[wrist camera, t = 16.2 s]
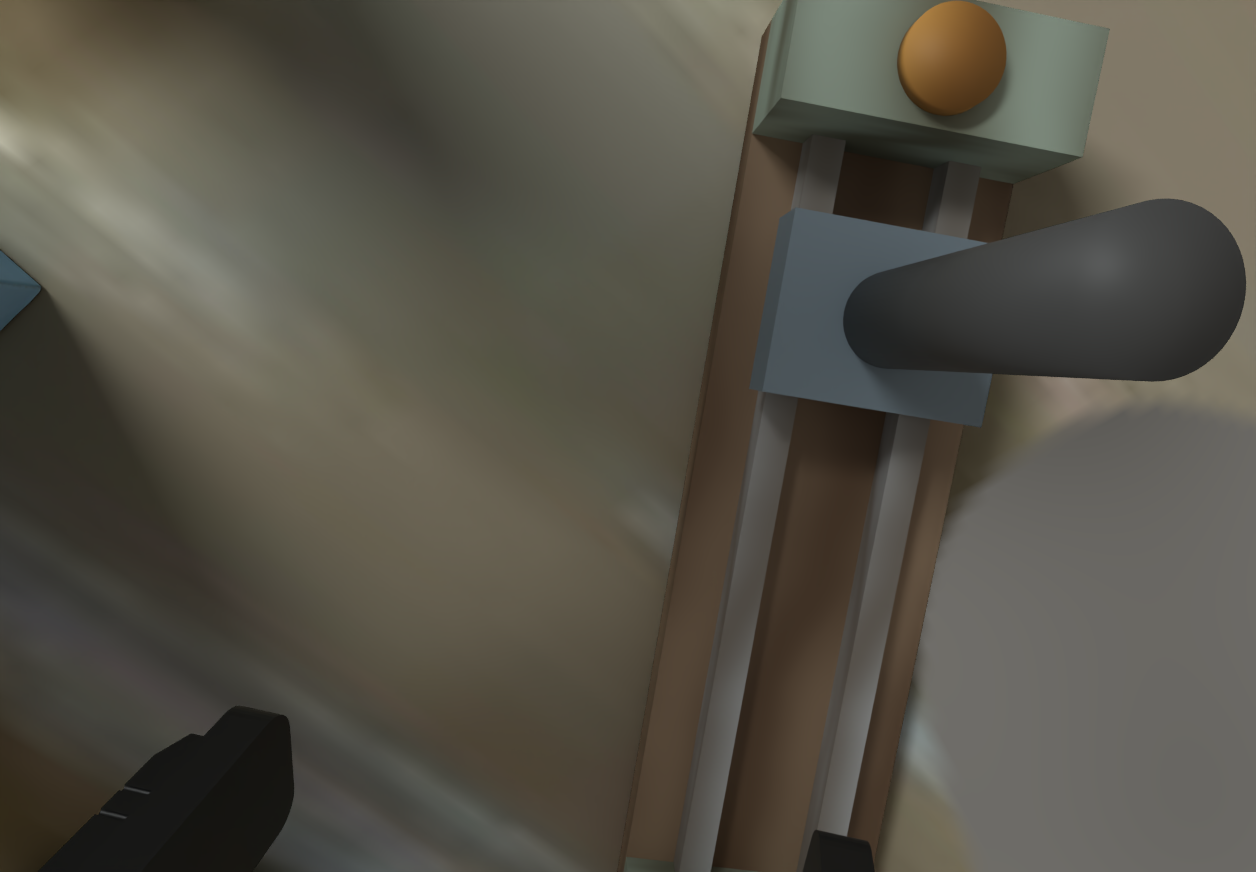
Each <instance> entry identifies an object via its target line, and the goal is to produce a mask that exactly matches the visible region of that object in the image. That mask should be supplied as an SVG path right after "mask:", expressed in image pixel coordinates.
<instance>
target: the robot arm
mask: <svg viewBox="0 0 1256 872" xmlns="http://www.w3.org/2000/svg"><path fill="white" fill-rule="evenodd" d="M293 797H294V779H293V765H292V751H291V737H290V725H289V721H288V719H287V717H286V716H284V715H280V714H275V713H271V712H266V711H262V710H257V709H253V708H248V707H243V706H235V707H233V708H231V709H230V710H228V711H227V712H226V713H225V714H224V715H223V716H222V717H221V718H220V719H219V721H218V722H217V723H216V724H215V725H214V726H213V727H212V728H211V729H210V730H209V731H208V732H207V733H206V734H205V735H204V736H200V735H196V734H189V735H188V736H186V737H184V738H183V739H181V740H179V741H178V742H176V743H174V744H172V745H171V746H169V747H167V748H166V749H164V750H162V751H161V752H159V753H157V754H156V755H154V756H153V757H152V758H151V759H150V760H149V761H148V762H147V763H146V764H145V765H144V766H143V767H142V768H141V769H140V770H139V771H138V772H137V773H136V774H135V775H134V776H133V777H132V778H131V779H130V780H129V781H128V782H127V783H126V784H125V787H124V789H123V790H122V791H121V790H119V791H118V792H117V793H116V794H115V795H114V796H113V797H112V798H111V799H110V800H109V801H108V802H107V803H106V804H105V805H104V806H103V807H102V808H101V811H100V813H99V814H98V815H96V814H95V815H94V816H93V817H92V818H91V819H90V820H89V821H88V822H87V823H86V824H85V825H84V826H83V827H82V828H81V829H80V830H79V831H78V832H77V833H76V834H75V835H74V836H73V837H72V838H71V839H70V840H69V841H68V842H67V843H66V844H65V845H64V846H63V847H62V848H61V849H60V850H59V851H58V852H57V853H56V854H55V855H54V856H53V857H52V858H51V859H50V860H49V861H48V862H47V863H46V864H45V865H44V866H43V867H42V868H41V869H40V870H39V871H38V872H252V871H253V870H254V868H255V867H256V866H257V864H258V863H259V861H260V860H261V859H262V857H263V856H264V854H265V853H266V852H267V850H268V849H269V847H270V846H271V844H272V843H273V842H274V840H275V839H276V837H277V836H278V834H279V833H280V831H281V830H282V828H283V826H284V824H285V822H286V820H287V817H288V815H289V812H290V809H291V806H292V802H293ZM803 872H875V871H874V864H873V856H872V850H871V846H870V844H869V842H868V841H866V840H861V839H857V838H852V837H848V836H843V835H838V834H834V833H829V832H825V831H820V830H815V831H814V832H813V835H812V838H811V841H810V845H809V849H808V853H807V856H806V860H805V864H804V868H803Z"/></svg>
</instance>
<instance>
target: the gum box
mask: <svg viewBox="0 0 1256 872" xmlns="http://www.w3.org/2000/svg"><path fill="white" fill-rule="evenodd" d="M40 290H41V286H40V285H39V284H38V283H37V282H36V281H34V280H33V279H32V278H31V277H30V276H29V275H28V274H27V273H25V272H24V271H23V270H22V269H21V268H20V267H19V266H17V265H16V264H15V263H14V262H13V261H12V260H11V259H9V258H8V257H7V256H6V255H5V254H4V253H3V252H2V251H0V331H1V330H2V329H3V328H4V327H5V326H6V325H7V324H8V323H9V322H10V321H11V320H12V319H13V318H14V317H15V316H16V315H17V314H18V313H19V312H20V311H21V310H22V309H23V308H24V307H25V306H26V305H28V304H29V303H30V302H31V301H32V299H33V298H34V297H35V296H36V295H37V294H38V293H39V292H40Z"/></svg>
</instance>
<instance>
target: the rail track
mask: <svg viewBox="0 0 1256 872" xmlns="http://www.w3.org/2000/svg"><path fill="white" fill-rule="evenodd" d="M1109 30H1110V29H1109V28H1104V27H1099V26H1094V25H1090V24H1085V23H1080V22H1075V21H1071V20H1066V19H1061V18H1057V17H1052V16H1047V15H1042V14H1038V13H1033V12H1028V11H1024V10H1019V9H1014V8H1009V7H1005V6H1000V5H995V4H991V3H986V2H981V1H976V0H783V1H782V3H781V5H780V6H779V8H778V10H777V12H776V13H775V15H774V17H773V18H772V20H771V22H770V23H769V25H768V27H767V29H766V30H765V32H764V34H763V35H762V39H761V45H760V51H759V56H758V62H757V68H756V74H755V79H754V85H753V91H752V97H751V103H750V108H749V114H748V120H747V126H746V131H745V137H744V143H743V149H742V155H741V160H740V166H739V172H738V178H737V183H736V189H735V195H734V201H733V206H732V212H731V218H730V224H729V230H728V235H727V241H726V247H725V253H724V258H723V264H722V270H721V276H720V281H719V287H718V293H717V299H716V305H715V310H714V316H713V322H712V328H711V333H710V339H709V345H708V351H707V356H706V362H705V368H704V374H703V380H702V385H701V391H700V397H699V403H698V408H697V414H696V420H695V426H694V432H693V437H692V443H691V449H690V455H689V460H688V466H687V472H686V478H685V483H684V489H683V495H682V501H681V507H680V512H679V518H678V524H677V530H676V535H675V541H674V547H673V553H672V558H671V564H670V570H669V576H668V582H667V587H666V593H665V599H664V605H663V610H662V616H661V622H660V628H659V634H658V639H657V645H656V651H655V657H654V662H653V668H652V674H651V680H650V685H649V691H648V697H647V703H646V709H645V714H644V720H643V726H642V732H641V737H640V743H639V749H638V755H637V760H636V766H635V772H634V778H633V784H632V789H631V795H630V801H629V807H628V812H627V818H626V824H625V830H624V835H623V841H622V847H621V853H620V859H619V864H618V870H617V872H803V868H804V864H805V860H806V856H807V853H808V849H809V845H810V841H811V838H812V835H813V832H814V831H815V830H820V831H825V832H829V833H834V834H838V835H843V836H848V837H852V838H857V839H861V840H866V841H868V842H869V844H870V846H871V850H872V856H873V864H874V860H875V855H876V850H877V845H878V840H879V835H880V831H881V826H882V821H883V816H884V811H885V806H886V801H887V797H888V792H889V787H890V782H891V777H892V772H893V767H894V762H895V758H896V753H897V748H898V743H899V738H900V733H901V728H902V724H903V719H904V714H905V709H906V704H907V699H908V694H909V689H910V685H911V680H912V675H913V670H914V665H915V660H916V655H917V651H918V646H919V641H920V636H921V631H922V626H923V621H924V616H925V612H926V607H927V602H928V597H929V592H930V587H931V582H932V578H933V573H934V568H935V563H936V558H937V553H938V548H939V543H940V539H941V534H942V529H943V524H944V519H945V514H946V509H947V505H948V500H949V495H950V490H951V485H952V480H953V475H954V470H955V466H956V461H957V456H958V451H959V446H960V441H961V436H962V432H963V427H964V425H963V424H957V423H951V422H944V421H938V420H932V419H926V418H920V417H914V416H908V415H902V414H896V413H890V412H884V411H878V410H872V409H866V408H860V407H853V406H847V405H841V404H835V403H829V402H823V401H817V400H811V399H805V398H799V397H793V396H787V395H781V394H775V393H769V392H762V391H757V390H753V389H749V386H750V381H751V375H752V370H753V364H754V358H755V353H756V347H757V342H758V336H759V330H760V325H761V319H762V314H763V308H764V302H765V297H766V291H767V286H768V280H769V275H770V269H771V263H772V258H773V252H774V247H775V241H776V235H777V230H778V224H779V219H780V217H782V216H783V215H785V214H786V213H788V212H789V211H791V210H792V209H794V208H795V207H797V208H802V209H807V210H813V211H818V212H824V213H829V214H834V215H840V216H845V217H850V218H856V219H861V220H867V221H872V222H877V223H883V224H888V225H894V226H899V227H904V228H910V229H915V230H921V231H926V232H931V233H937V234H942V235H948V236H953V237H958V238H964V239H969V240H975V241H980V242H985V243H991V242H995V241H999V240H1002V237H1003V232H1004V227H1005V222H1006V217H1007V213H1008V208H1009V203H1010V198H1011V193H1012V188H1013V184H1014V183H1017V182H1020V181H1022V180H1025V179H1027V178H1030V177H1032V176H1035V175H1038V174H1040V173H1043V172H1045V171H1048V170H1050V169H1053V168H1056V167H1058V166H1061V165H1063V164H1066V163H1069V162H1071V161H1074V160H1076V159H1079V158H1081V157H1083V152H1084V147H1085V143H1086V138H1087V133H1088V129H1089V124H1090V119H1091V115H1092V110H1093V105H1094V100H1095V96H1096V91H1097V86H1098V82H1099V77H1100V72H1101V68H1102V63H1103V58H1104V53H1105V49H1106V44H1107V39H1108V35H1109Z"/></svg>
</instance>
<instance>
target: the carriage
mask: <svg viewBox="0 0 1256 872" xmlns="http://www.w3.org/2000/svg"><path fill="white" fill-rule="evenodd" d="M1245 293H1246V275H1245V268H1244V263H1243V258H1242V255H1241V252H1240V250H1239V247H1238V245H1237V243H1236V241H1235V239H1234V237H1233V236H1232V234H1231V233H1230V231H1229V230H1228V229H1227V227H1226V226H1225V225H1224V224H1223V223H1222V222H1221V221H1220V220H1219V219H1218V218H1217V217H1215V216H1214V215H1213V214H1212V213H1210V212H1209V211H1207V210H1205V209H1204V208H1202V207H1200V206H1198V205H1195V204H1193V203H1190V202H1186V201H1183V200H1176V199H1155V200H1149V201H1144V202H1141V203H1137V204H1133V205H1129V206H1126V207H1122V208H1118V209H1114V210H1111V211H1107V212H1103V213H1099V214H1096V215H1092V216H1088V217H1085V218H1081V219H1077V220H1073V221H1070V222H1066V223H1062V224H1058V225H1055V226H1051V227H1047V228H1043V229H1040V230H1036V231H1032V232H1028V233H1025V234H1021V235H1017V236H1013V237H1010V238H1006V239H1002V240H999V241H995V242H991V243H985V242H980V241H975V240H969V239H964V238H958V237H953V236H948V235H942V234H937V233H931V232H926V231H921V230H915V229H910V228H904V227H899V226H894V225H888V224H883V223H877V222H872V221H867V220H861V219H856V218H850V217H845V216H840V215H834V214H829V213H824V212H818V211H813V210H807V209H802V208H797V207H795V208H794V209H792V210H791V211H789V212H788V213H786V214H785V215H783V216H782V217H780V219H779V224H778V230H777V235H776V241H775V247H774V252H773V258H772V263H771V269H770V275H769V280H768V286H767V291H766V297H765V302H764V308H763V314H762V319H761V325H760V330H759V336H758V342H757V347H756V353H755V358H754V364H753V370H752V375H751V381H750V386H749V389H753V390H757V391H762V392H769V393H775V394H781V395H787V396H793V397H799V398H805V399H811V400H817V401H823V402H829V403H835V404H841V405H847V406H853V407H860V408H866V409H872V410H878V411H884V412H890V413H896V414H902V415H908V416H914V417H920V418H926V419H932V420H938V421H944V422H951V423H957V424H963V425H969V426H975V427H982V422H983V417H984V412H985V408H986V403H987V398H988V393H989V388H990V384H991V379H992V374H1007V375H1028V376H1049V377H1070V378H1090V379H1111V380H1132V381H1166V380H1171V379H1175V378H1179V377H1182V376H1185V375H1187V374H1189V373H1191V372H1193V371H1195V370H1197V369H1199V368H1200V367H1202V366H1203V365H1205V364H1206V363H1207V362H1209V361H1210V360H1211V359H1212V358H1213V357H1215V355H1216V354H1217V353H1218V352H1219V351H1220V350H1221V349H1222V348H1223V347H1224V345H1225V344H1226V343H1227V341H1228V340H1229V339H1230V337H1231V335H1232V333H1233V332H1234V330H1235V328H1236V326H1237V324H1238V321H1239V319H1240V316H1241V313H1242V309H1243V306H1244V300H1245Z"/></svg>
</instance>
